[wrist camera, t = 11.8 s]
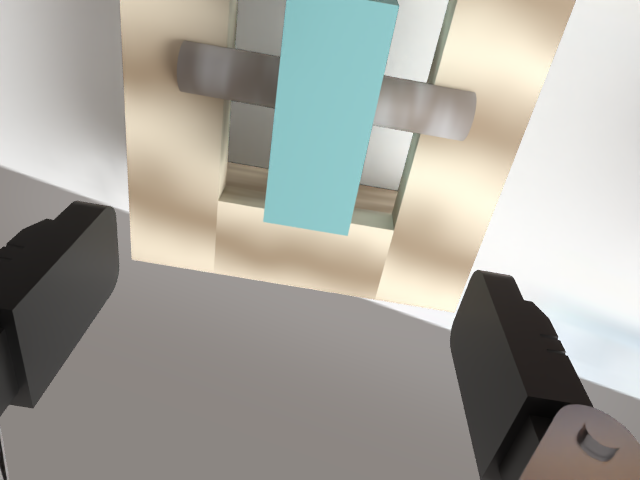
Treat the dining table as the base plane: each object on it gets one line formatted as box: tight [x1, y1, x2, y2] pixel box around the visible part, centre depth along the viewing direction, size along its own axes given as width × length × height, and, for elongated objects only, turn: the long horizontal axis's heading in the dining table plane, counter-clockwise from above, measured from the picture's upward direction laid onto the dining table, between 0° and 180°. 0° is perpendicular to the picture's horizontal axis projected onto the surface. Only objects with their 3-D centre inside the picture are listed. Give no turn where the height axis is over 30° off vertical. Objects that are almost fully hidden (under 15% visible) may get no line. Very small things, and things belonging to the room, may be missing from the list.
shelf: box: [120, 0, 576, 313], centre depth 29 cm, size 24×20×13 cm
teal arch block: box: [263, 0, 399, 236], centre depth 26 cm, size 10×4×12 cm, turn 171°
